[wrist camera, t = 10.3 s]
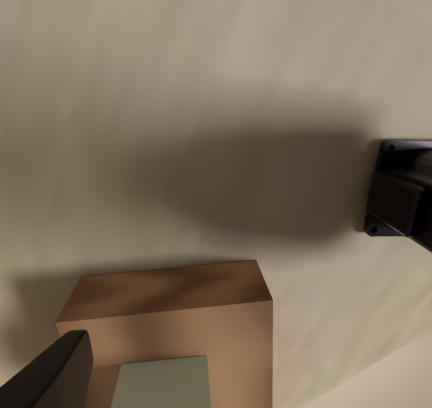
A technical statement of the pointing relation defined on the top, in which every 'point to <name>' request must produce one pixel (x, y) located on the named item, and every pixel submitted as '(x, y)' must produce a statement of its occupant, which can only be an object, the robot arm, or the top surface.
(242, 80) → the top surface
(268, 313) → the walnut block
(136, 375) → the sage green block
